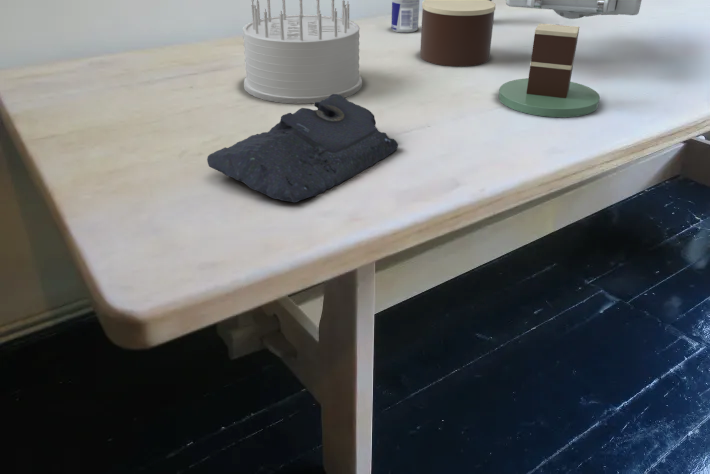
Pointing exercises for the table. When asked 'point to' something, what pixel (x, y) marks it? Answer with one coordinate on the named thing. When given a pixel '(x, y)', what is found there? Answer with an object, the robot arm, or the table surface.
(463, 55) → the cake
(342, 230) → the table surface
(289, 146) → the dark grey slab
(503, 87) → the plate
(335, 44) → the cake
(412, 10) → the energy drink
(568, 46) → the cake slice
